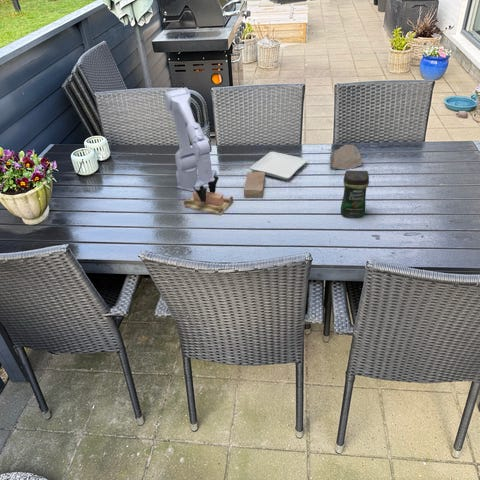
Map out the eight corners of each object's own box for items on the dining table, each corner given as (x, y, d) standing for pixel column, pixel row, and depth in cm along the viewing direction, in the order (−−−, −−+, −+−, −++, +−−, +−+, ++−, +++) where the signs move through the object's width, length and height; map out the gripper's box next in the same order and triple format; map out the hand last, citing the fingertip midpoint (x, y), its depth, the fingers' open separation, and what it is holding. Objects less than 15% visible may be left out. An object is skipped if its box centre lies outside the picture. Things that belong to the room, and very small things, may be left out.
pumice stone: (330, 170, 211) (332, 151, 205) (328, 163, 217) (329, 144, 211) (363, 169, 210) (365, 149, 204) (360, 161, 216) (362, 142, 210)
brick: (262, 198, 195) (262, 189, 192) (243, 198, 196) (243, 189, 193) (265, 180, 208) (265, 171, 205) (247, 180, 209) (246, 171, 206)
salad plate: (309, 164, 218) (309, 158, 216) (288, 184, 204) (288, 177, 202) (270, 156, 227) (270, 150, 225) (248, 174, 213) (248, 168, 211)
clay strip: (194, 201, 194) (192, 192, 191) (197, 198, 196) (196, 189, 193) (220, 207, 188) (219, 198, 186) (223, 203, 191) (222, 194, 188)
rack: (184, 207, 193) (183, 201, 191) (198, 194, 200) (197, 189, 199) (220, 215, 185) (220, 209, 183) (233, 202, 193) (232, 196, 191)
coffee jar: (340, 218, 178) (344, 176, 167) (340, 207, 184) (343, 167, 173) (366, 219, 176) (371, 177, 165) (364, 208, 183) (369, 167, 172)
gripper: (203, 177, 176) (207, 207, 184) (221, 162, 186) (224, 190, 194) (188, 174, 179) (192, 203, 187) (207, 159, 189) (210, 187, 197)
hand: (207, 196), depth 190 cm, fingers open, 7 cm apart
